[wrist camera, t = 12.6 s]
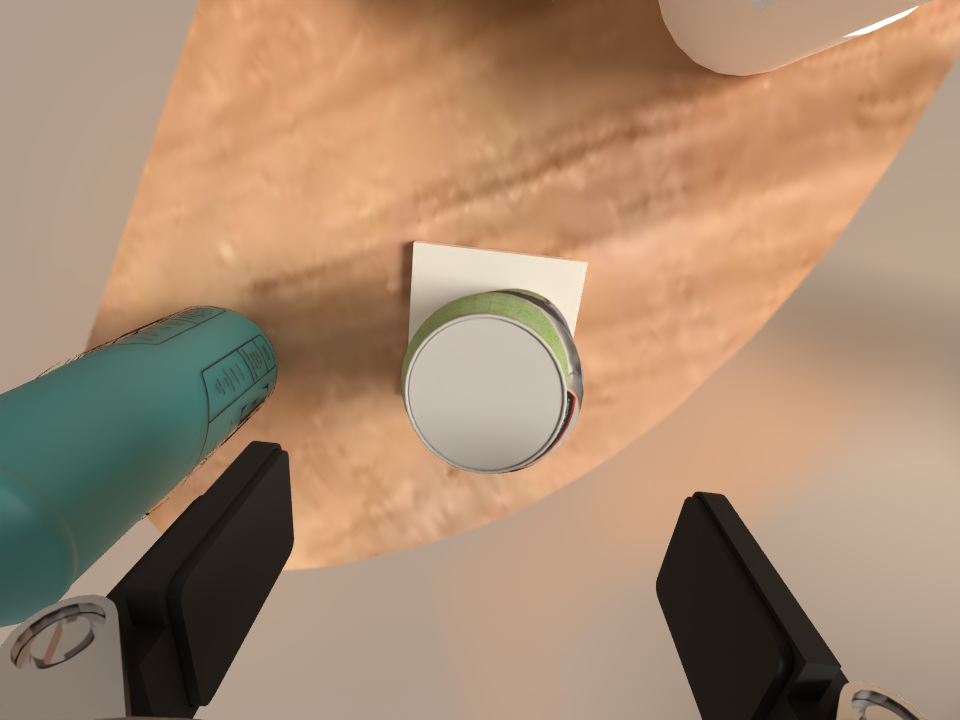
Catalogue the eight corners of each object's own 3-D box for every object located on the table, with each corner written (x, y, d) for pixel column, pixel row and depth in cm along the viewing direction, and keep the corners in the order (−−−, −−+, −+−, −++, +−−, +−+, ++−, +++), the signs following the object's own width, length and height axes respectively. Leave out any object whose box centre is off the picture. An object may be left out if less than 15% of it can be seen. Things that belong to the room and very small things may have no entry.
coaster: (416, 240, 24) (413, 242, 24) (585, 259, 24) (587, 262, 24) (407, 392, 28) (405, 398, 27) (556, 410, 28) (557, 416, 27)
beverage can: (514, 413, 26) (517, 562, 15) (417, 326, 25) (339, 415, 14) (595, 335, 25) (669, 435, 13) (495, 239, 24) (482, 258, 12)
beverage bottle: (193, 277, 26) (-625, 540, 7) (308, 322, 26) (-154, 670, 8) (175, 376, 28) (-474, 773, 9) (282, 415, 29) (-123, 856, 10)
